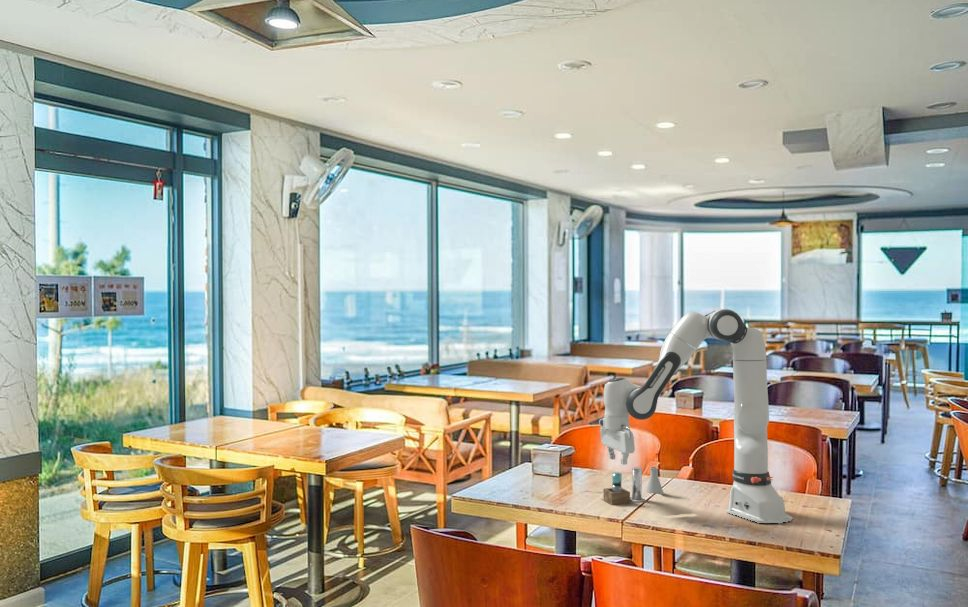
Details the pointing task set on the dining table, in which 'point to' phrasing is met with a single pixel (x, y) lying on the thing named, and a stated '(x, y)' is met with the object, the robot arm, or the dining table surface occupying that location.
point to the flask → (654, 482)
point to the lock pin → (637, 483)
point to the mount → (620, 497)
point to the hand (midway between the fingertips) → (618, 461)
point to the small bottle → (616, 482)
